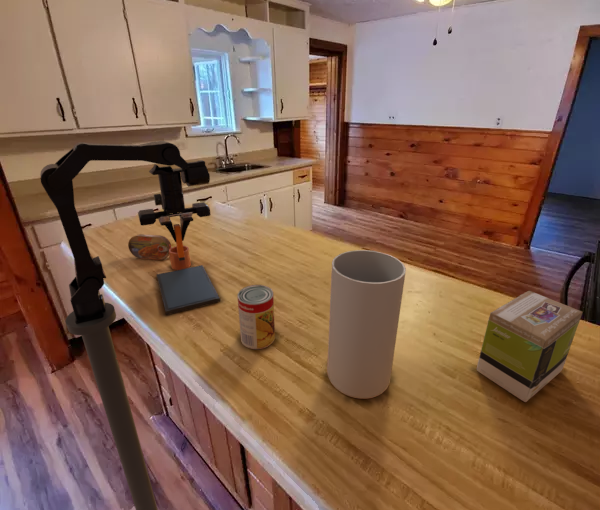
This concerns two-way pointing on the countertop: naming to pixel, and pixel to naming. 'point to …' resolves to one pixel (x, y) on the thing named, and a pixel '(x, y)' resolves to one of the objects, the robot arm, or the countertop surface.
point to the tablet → (186, 289)
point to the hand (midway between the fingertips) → (179, 241)
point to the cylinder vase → (363, 321)
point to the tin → (149, 246)
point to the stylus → (179, 242)
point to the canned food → (256, 316)
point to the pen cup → (175, 261)
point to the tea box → (527, 343)
